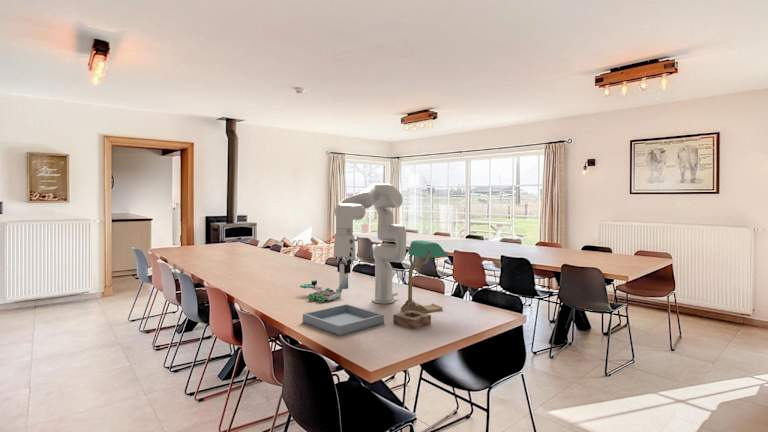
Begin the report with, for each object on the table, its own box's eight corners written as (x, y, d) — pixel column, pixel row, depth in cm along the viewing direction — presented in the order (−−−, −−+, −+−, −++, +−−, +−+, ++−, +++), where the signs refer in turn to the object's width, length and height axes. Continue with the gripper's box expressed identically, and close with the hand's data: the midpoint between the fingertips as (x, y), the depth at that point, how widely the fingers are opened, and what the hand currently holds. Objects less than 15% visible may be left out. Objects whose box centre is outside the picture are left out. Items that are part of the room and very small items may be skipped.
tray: (346, 311, 211) (346, 303, 211) (384, 323, 193) (384, 314, 192) (302, 322, 192) (302, 313, 192) (339, 336, 174) (339, 326, 174)
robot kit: (310, 292, 255) (310, 276, 254) (346, 297, 243) (346, 281, 243) (290, 298, 238) (290, 282, 238) (327, 304, 227) (327, 286, 226)
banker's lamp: (397, 309, 218) (398, 240, 216) (431, 304, 227) (432, 239, 226) (413, 316, 204) (414, 244, 202) (448, 312, 213) (450, 242, 212)
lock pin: (344, 286, 195) (344, 260, 194) (350, 288, 192) (350, 261, 191) (337, 288, 192) (337, 261, 191) (343, 289, 189) (343, 262, 188)
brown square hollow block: (410, 318, 201) (410, 309, 201) (430, 323, 193) (430, 315, 193) (393, 323, 193) (393, 314, 193) (413, 329, 184) (413, 320, 184)
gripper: (363, 232, 188) (362, 274, 188) (338, 230, 199) (338, 269, 200) (350, 233, 182) (349, 276, 183) (326, 231, 194) (325, 271, 195)
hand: (343, 272), depth 192 cm, fingers closed on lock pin, 4 cm apart
